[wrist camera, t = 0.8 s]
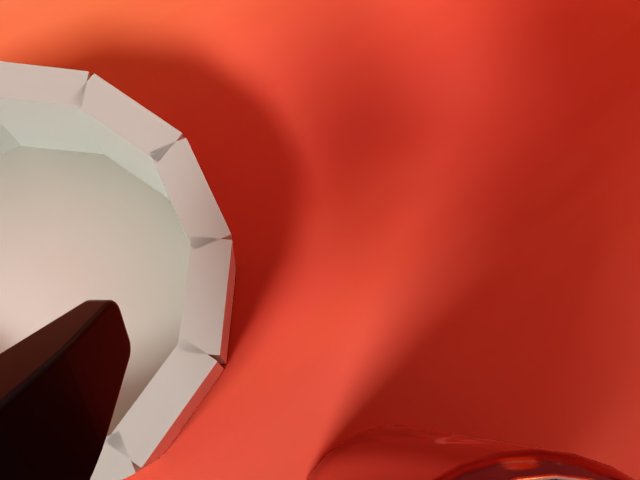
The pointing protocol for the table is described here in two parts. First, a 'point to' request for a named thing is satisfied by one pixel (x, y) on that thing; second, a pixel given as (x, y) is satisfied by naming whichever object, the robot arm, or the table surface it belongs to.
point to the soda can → (450, 459)
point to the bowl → (113, 245)
